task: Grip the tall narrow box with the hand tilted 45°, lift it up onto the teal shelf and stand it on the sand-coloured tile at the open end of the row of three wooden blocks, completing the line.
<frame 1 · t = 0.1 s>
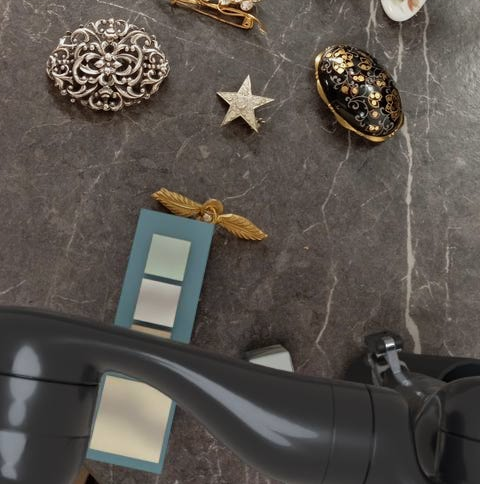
hand: (384, 400, 93), 27 cm above the counter, tool pointing down, fingers open, 8 cm apart
block line: (132, 418, 90), resting on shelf
vase: (379, 392, 119), on the counter
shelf: (144, 388, 117), on the counter
box: (264, 364, 119), on the counter
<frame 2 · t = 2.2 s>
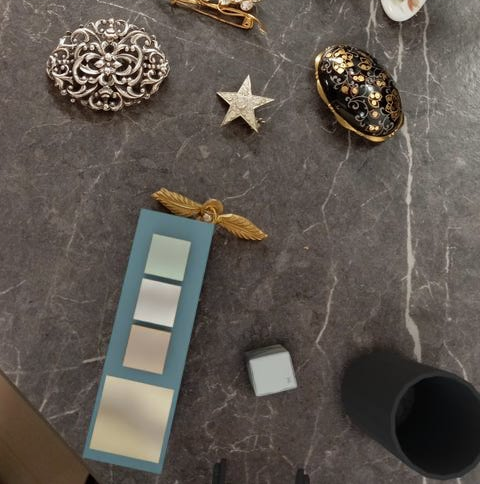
hand: (261, 467, 100), 17 cm above the counter, tool tilted 45°, fingers open, 8 cm apart
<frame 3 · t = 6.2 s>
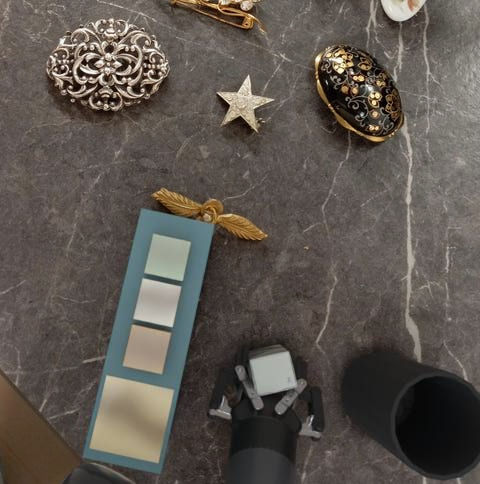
hand: (271, 354, 113), 6 cm above the counter, tool tilted 45°, fingers closed on box, 6 cm apart
box: (264, 364, 119), on the counter, touching gripper
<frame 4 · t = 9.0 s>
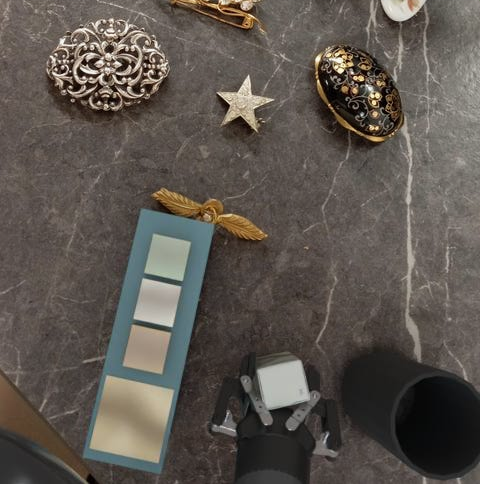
hand: (280, 363, 102), 18 cm above the counter, tool tilted 45°, fingers closed on box, 6 cm apart
box: (271, 373, 108), point 12 cm above the counter, touching gripper
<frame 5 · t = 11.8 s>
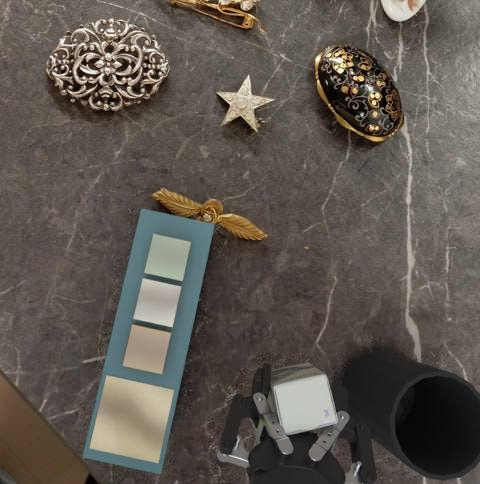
hand: (300, 377, 85), 35 cm above the counter, tool tilted 45°, fingers closed on box, 6 cm apart
box: (288, 388, 91), point 29 cm above the counter, touching gripper
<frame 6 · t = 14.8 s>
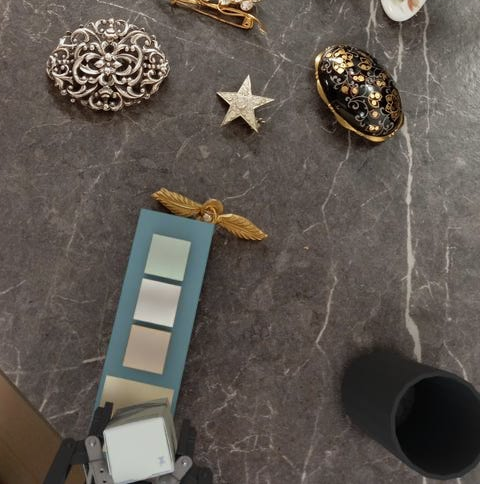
hand: (146, 416, 78), 42 cm above the counter, tool tilted 45°, fingers closed on box, 6 cm apart
box: (145, 426, 83), point 35 cm above the counter, touching gripper
when the fingers open (35 cm above the counter, at t = 17.5 s): box stays where it is, resting on block line.
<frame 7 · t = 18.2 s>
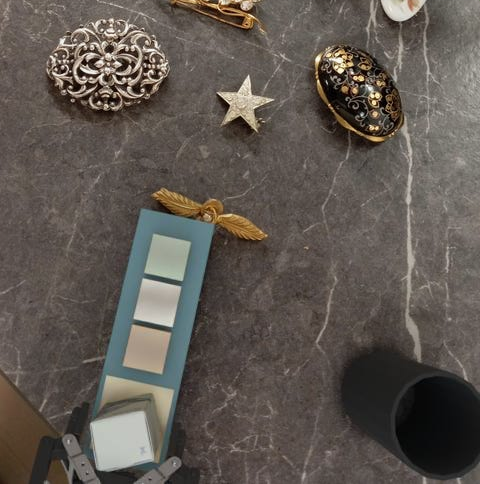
hand: (130, 417, 83), 36 cm above the counter, tool tilted 45°, fingers open, 8 cm apart
box: (131, 419, 90), point 28 cm above the counter, touching block line
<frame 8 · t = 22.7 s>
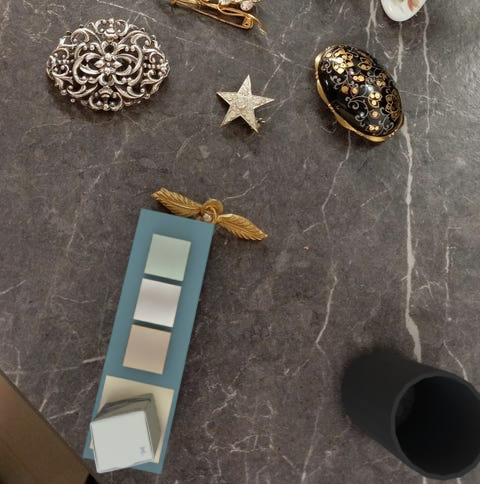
at the end: box 0.1 cm off-centre on the block line, point 0.0 cm above the block line's base; box tilted 0° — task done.
